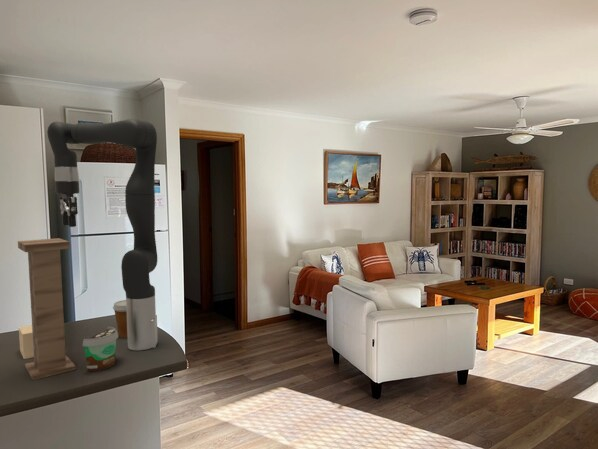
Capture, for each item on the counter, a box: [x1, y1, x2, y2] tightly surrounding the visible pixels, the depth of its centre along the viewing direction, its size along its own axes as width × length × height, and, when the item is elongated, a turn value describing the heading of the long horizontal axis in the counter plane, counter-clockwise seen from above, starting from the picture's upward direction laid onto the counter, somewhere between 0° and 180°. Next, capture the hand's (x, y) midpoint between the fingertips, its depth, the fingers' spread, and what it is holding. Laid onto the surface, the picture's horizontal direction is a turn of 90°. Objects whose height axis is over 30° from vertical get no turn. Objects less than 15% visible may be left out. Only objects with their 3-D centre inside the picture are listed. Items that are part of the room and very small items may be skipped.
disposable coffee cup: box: [112, 299, 128, 339], centre depth 160 cm, size 10×10×12 cm
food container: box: [82, 326, 119, 372], centre depth 133 cm, size 12×6×10 cm, turn 168°
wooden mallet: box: [18, 324, 34, 360], centre depth 150 cm, size 22×9×8 cm, turn 39°
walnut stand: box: [17, 237, 77, 381], centre depth 130 cm, size 12×11×38 cm
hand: (69, 225), depth 157 cm, fingers open, 8 cm apart
